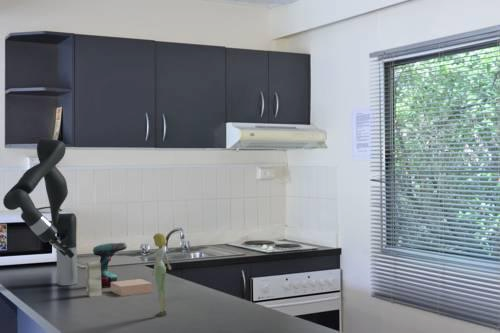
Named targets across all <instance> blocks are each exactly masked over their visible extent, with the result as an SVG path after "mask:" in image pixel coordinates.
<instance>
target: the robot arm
mask: <svg viewBox="0 0 500 333" xmlns="http://www.w3.org/2000/svg"><path fill="white" fill-rule="evenodd" d="M66 150H67V149H66V145H65V143H64V141H63V140H58V139H52V138H46V137H43V138H40V139H39V140H38V142H37V144H36V155H37V158H38V161H39V163H37V164H35V165H33V166H31V167H29V168H28V169H27V170H26V171H25V172H24V173H23V174H22V176H21V177H20V178H19V179H18V181H17V183H15V184H14V185H13V187H11V188H10V189H9V190H8V191H7V193H5V195H4V197H3V199H2V201H3V202H2V203H3V207H5V209H7V210H9V211H14V210H17V209H19V208H20V210H21V211H22V212H21V214H20V218H21V219H22V220H23V222H24V223H25V224H26V225H27V226H28V227H29V228H30V230H31V231H32V232H33V233H34V234H35V235H36V236H37V238H39V240H40V241H42V242H43V243H47V242H49V244H50V245H51V246H52V247H53V248H54V249H56V251H55V252H56V284H57V286H73V285H74V286H75V285H77V284H78V255H77V254H78V253H77V252H78V250H77V228H78V227H77V225H78V224H77V223H78V222H77V216H76V214H75V213H72V212H71V213H69V212H68V213H67V212H66V213H64V212H63V213H60V212H59V211H60V208H61V206H62V205H63V203H64V201H65V200H66V199H67V196H68V194H69V190H68V185H67V184H68V183H67V179H66V178H65V176H64V174H63V173H62V172H61V171H60V170H59V169H58V168H57V165H58V164H59V163H60V162H61V161H62V159H63V158H64V157H65V154H66ZM42 179H44V184H45V190H46V195H47V198H48V204H49V210H50V217H51V221H50V220H49V219H48V218H47V217H46V216H45V215H43V213H42V212H40V211H39V210H38V208H37V207H36V205H35V204H34V201H33V200H32V198H31V196H30V194H31V193H32V192H33V191H35V188H36V187H37V186H38V184H40V182H41V181H42ZM56 234H68V236H66V237H65V238H63V239H62V238H61V237H60V236H57V235H56Z"/></svg>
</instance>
